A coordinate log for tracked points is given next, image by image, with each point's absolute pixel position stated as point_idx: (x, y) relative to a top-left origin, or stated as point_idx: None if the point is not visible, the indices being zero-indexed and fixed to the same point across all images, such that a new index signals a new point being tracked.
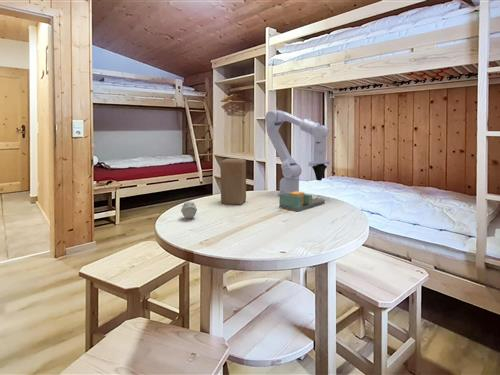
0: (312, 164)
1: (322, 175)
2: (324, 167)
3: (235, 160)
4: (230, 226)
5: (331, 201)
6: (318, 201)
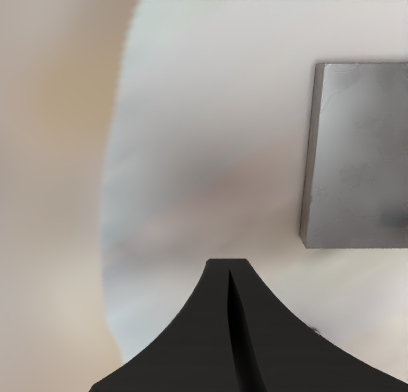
0: None
1: (210, 288)
2: (230, 386)
3: None
4: None
5: (199, 71)
6: (401, 81)
